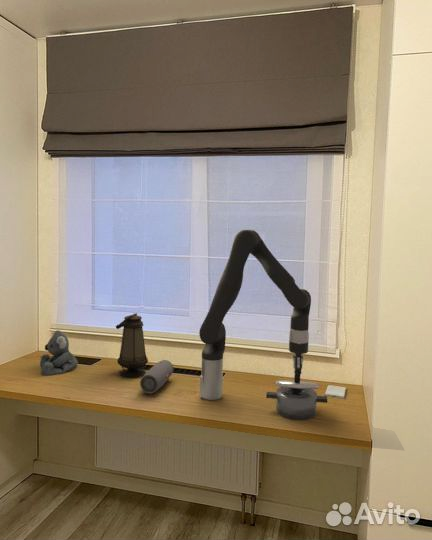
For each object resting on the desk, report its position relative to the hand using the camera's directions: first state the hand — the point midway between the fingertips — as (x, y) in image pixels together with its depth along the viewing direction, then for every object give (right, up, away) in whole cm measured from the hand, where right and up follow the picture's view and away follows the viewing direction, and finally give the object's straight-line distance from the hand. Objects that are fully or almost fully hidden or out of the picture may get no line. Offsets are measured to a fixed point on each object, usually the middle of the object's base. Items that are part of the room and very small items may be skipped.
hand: (297, 382), depth 177 cm
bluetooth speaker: (-59, -9, +26) cm, 65 cm away
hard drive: (+22, -11, +24) cm, 34 cm away
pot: (0, -12, +2) cm, 12 cm away
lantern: (-74, -7, +43) cm, 86 cm away
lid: (0, -3, +2) cm, 3 cm away
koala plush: (-112, -6, +47) cm, 121 cm away
